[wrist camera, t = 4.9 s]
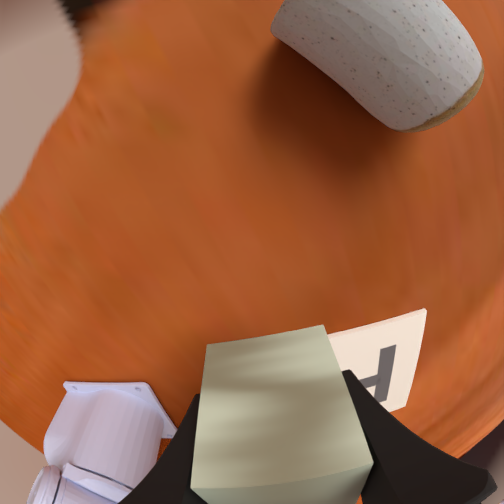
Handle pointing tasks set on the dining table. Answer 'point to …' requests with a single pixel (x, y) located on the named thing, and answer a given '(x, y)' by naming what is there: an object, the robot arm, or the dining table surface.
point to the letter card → (383, 356)
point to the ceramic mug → (388, 55)
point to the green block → (278, 424)
